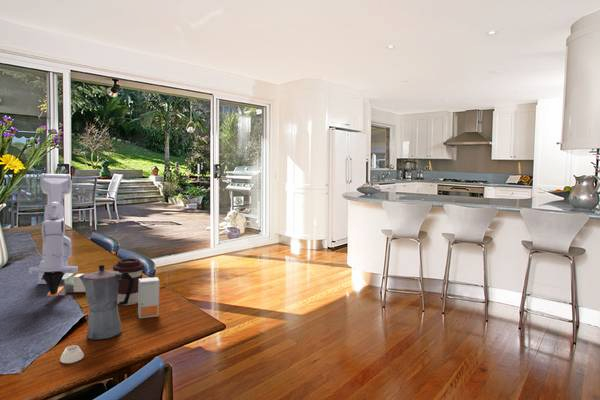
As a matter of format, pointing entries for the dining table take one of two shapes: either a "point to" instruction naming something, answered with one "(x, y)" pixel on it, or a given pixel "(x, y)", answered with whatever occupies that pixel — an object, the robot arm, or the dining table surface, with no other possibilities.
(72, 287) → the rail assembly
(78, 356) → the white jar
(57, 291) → the lever
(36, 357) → the dining table surface
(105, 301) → the moka pot
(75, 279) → the carriage
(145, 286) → the skincare box
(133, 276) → the coffee cup
